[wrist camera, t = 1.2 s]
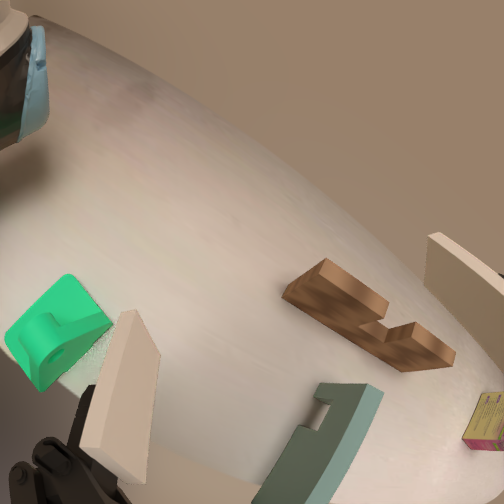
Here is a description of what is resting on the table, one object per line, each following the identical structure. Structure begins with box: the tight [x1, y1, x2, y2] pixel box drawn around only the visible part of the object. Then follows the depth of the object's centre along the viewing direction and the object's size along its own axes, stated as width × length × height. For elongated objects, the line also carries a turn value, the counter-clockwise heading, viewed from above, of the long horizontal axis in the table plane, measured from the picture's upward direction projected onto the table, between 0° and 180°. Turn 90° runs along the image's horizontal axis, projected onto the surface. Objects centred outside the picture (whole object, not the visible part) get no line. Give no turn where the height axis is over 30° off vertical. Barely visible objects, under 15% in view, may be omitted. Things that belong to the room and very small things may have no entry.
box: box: [462, 392, 504, 451], centre depth 34 cm, size 10×6×12 cm, turn 137°
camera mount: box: [4, 274, 113, 392], centre depth 24 cm, size 12×8×10 cm, turn 138°
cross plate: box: [251, 383, 384, 504], centre depth 27 cm, size 2×18×10 cm, turn 150°
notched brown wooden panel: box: [282, 258, 456, 372], centre depth 34 cm, size 22×2×10 cm, turn 60°
